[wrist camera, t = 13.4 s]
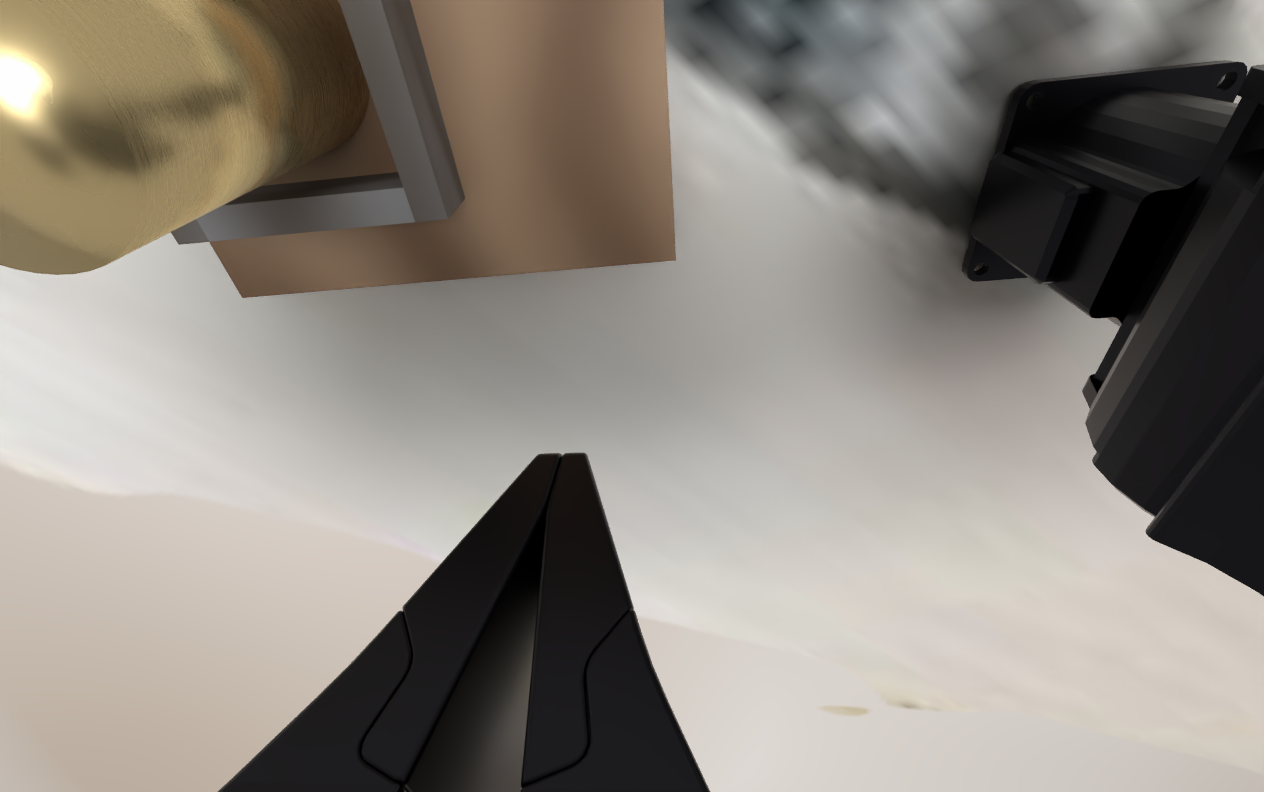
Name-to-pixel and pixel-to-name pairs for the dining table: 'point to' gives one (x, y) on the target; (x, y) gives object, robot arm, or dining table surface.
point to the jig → (473, 153)
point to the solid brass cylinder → (158, 115)
